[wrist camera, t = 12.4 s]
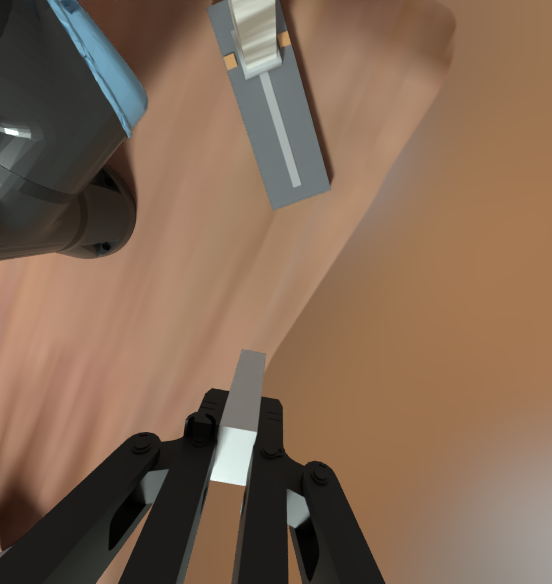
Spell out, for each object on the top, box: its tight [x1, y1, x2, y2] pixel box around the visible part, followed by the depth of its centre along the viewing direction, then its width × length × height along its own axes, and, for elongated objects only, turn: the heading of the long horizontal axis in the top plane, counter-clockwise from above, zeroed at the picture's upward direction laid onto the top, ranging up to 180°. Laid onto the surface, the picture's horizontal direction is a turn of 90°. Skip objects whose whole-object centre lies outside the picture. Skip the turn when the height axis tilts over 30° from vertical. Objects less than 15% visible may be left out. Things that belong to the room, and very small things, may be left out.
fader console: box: [207, 0, 331, 210], centre depth 38 cm, size 26×9×2 cm, turn 19°
